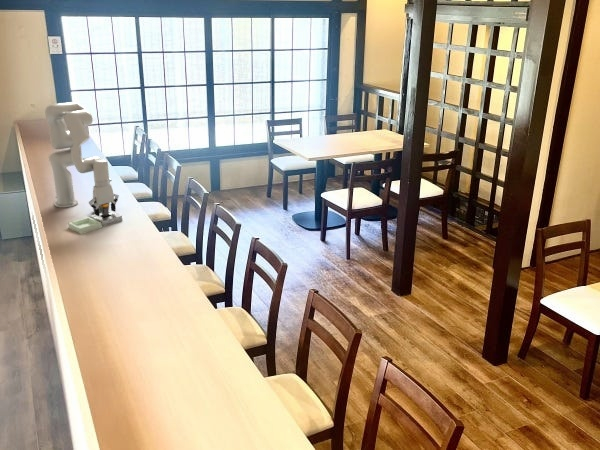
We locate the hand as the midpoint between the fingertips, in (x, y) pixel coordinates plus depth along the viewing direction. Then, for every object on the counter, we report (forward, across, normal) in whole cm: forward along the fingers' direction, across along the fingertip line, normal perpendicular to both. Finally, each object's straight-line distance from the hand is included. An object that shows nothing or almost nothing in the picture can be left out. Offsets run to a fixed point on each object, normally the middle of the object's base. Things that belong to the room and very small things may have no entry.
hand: (105, 213), depth 303 cm
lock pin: (+4, 0, 0) cm, 4 cm away
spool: (+5, -6, -14) cm, 16 cm away
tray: (+4, +13, +1) cm, 14 cm away
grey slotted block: (+4, 0, 0) cm, 4 cm away
